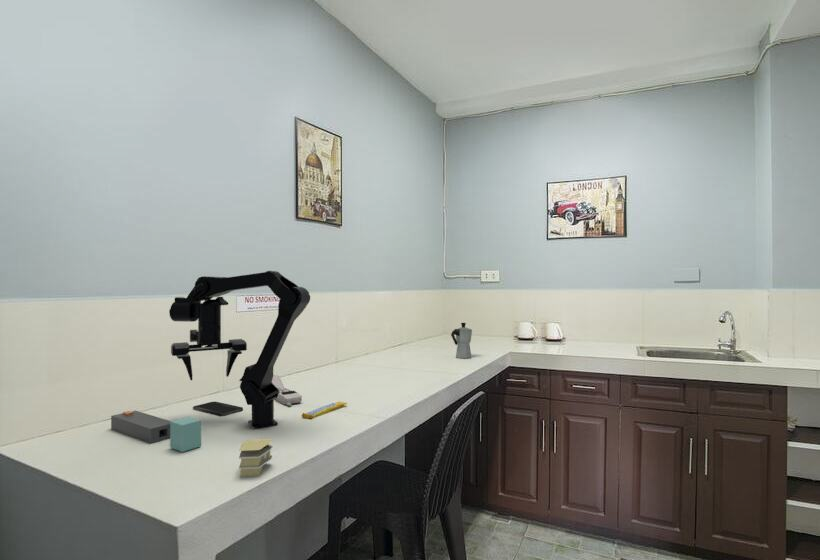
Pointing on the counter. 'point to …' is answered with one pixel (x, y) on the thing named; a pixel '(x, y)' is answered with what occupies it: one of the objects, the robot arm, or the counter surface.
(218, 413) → the phone
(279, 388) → the mobile phone
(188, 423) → the block
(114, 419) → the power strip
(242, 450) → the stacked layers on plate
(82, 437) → the counter surface
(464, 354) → the coffee maker
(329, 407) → the candy bar
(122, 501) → the counter surface
